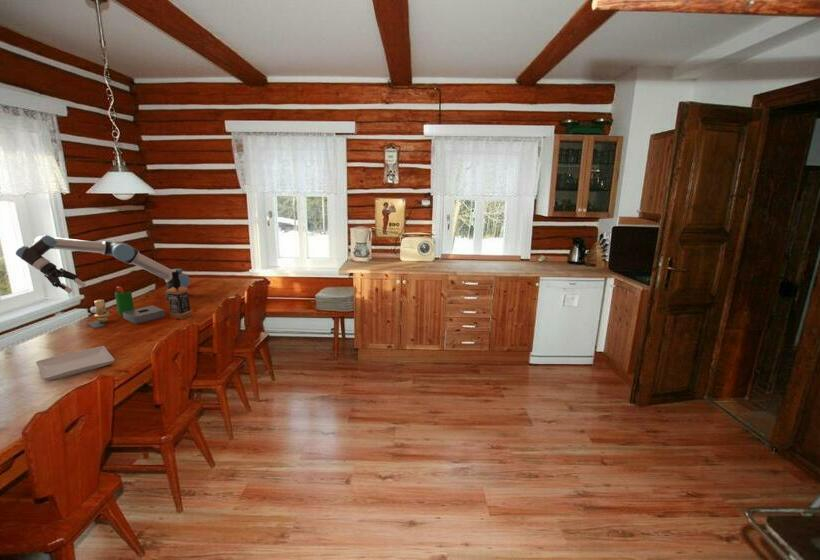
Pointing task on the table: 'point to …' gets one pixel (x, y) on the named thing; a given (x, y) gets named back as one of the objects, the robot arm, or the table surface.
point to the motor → (123, 300)
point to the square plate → (74, 363)
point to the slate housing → (143, 314)
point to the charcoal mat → (96, 324)
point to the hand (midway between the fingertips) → (78, 288)
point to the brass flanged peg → (101, 311)
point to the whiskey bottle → (178, 299)
